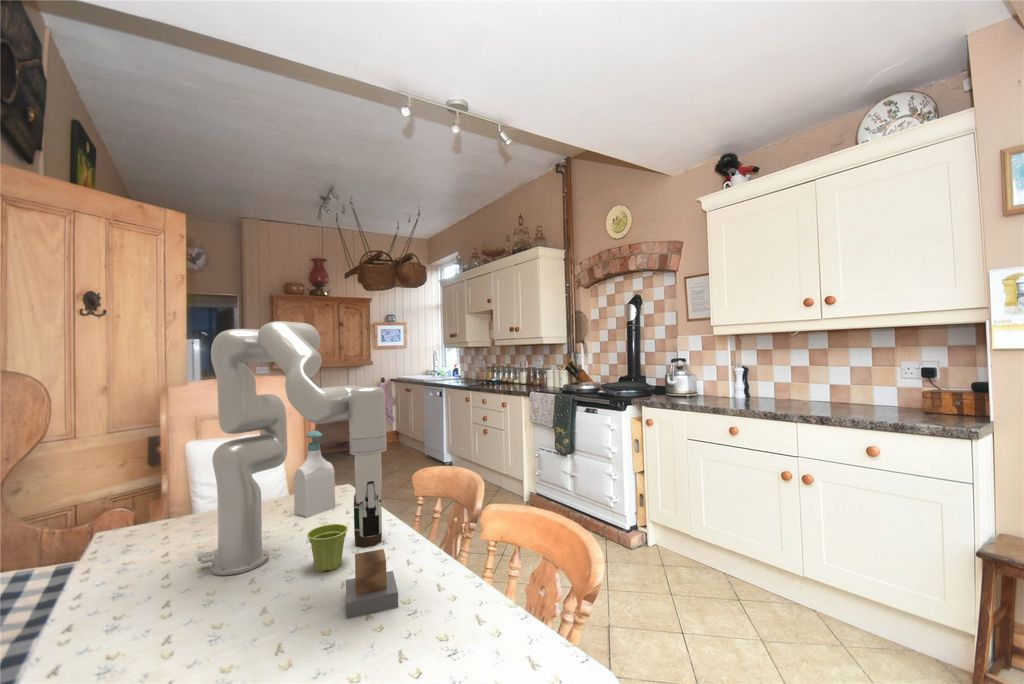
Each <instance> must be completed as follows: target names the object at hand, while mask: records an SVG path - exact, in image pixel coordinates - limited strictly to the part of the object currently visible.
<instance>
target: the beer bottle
mask: <svg viewBox="0 0 1024 684" xmlns="http://www.w3.org/2000/svg"><path fill="white" fill-rule="evenodd" d="M377 501H378V500H377ZM379 502H380V503H381V504H382V498H381V499H380V500H379ZM362 503H363V502H360V504H362ZM360 504H358V503H356V495H355V494H354V496H353V525H354V526H353V527H354V528H353V531H354V532H353V535H354V545H355V547H357V548H361V549H362V548H364V549H365V548H369V547H370V548H371V547H375V546H377V545H378V544H380V543H382V540H383V539H382V538H383V527H382V526H383V524H382V523H383V522H382V520H383V519H382V515H383V514H382V513H381V533H380V534H378V535H376V536H372V537H362V536H360V525H359V505H360Z"/></svg>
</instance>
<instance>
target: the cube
mask: <svg viewBox="0 0 1024 684" xmlns="http://www.w3.org/2000/svg"><path fill="white" fill-rule="evenodd" d="M386 557H387V556H386V553H385V549H384V548H380V549H375V550H368V551H363V552H359V553H354V569H355V570H354V573H355V574H354V575H355V583H356V596H358V595H362V594H367V593H372V592H377V591H381V590H386V589H387V577H386V572H387V558H386Z"/></svg>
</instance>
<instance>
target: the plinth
mask: <svg viewBox="0 0 1024 684" xmlns="http://www.w3.org/2000/svg"><path fill="white" fill-rule="evenodd" d="M394 573H395V572H394V571H393V570H389V571H386V577H387V589H386V590H381V591H377V592H372V593H367V594H362V595H358V596H356V583H355V578H354V577H353V578H350V579H349V578H348V579H345V617H346V620H347V619H351V618H356V617H359V616H364V615H367V614H368V615H369V614H372V613H377V612H378V613H379V612H381V611H385V610H387V611H388V610H390V609H391V610H392V609H395V608H398V607H399V591H398V590H399V589H398V586H397V582H396V578H395V574H394Z"/></svg>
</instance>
